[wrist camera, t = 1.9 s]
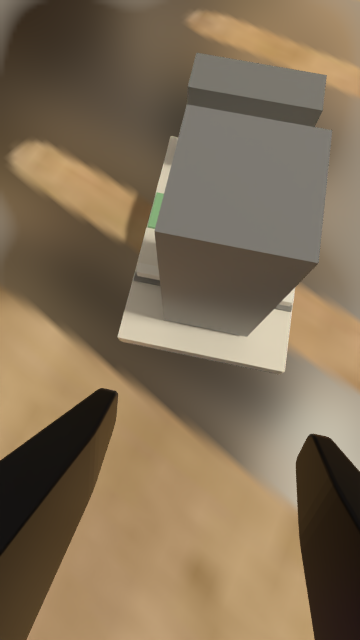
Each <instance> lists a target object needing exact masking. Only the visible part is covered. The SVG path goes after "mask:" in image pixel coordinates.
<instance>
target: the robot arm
mask: <svg viewBox="0 0 360 640" xmlns="http://www.w3.org/2000/svg"><path fill="white" fill-rule="evenodd" d="M117 403H118V393H117V392H116V391H113V390H109V389H104V388H100V389H98V390H97V391H95V392H94V393H93V394H91V395H90V396H88V397H87V398H86V399H84V400H83V401H82V402H80V403H79V404H77V405H76V406H75V407H73V408H72V409H71V410H69V411H68V412H66V413H65V414H64V415H62V416H61V417H60V418H58V419H57V420H55V421H54V422H53V423H51V424H50V425H48V426H47V427H46V428H44V429H43V430H42V431H40V432H39V433H37V434H36V435H35V436H33V437H32V438H31V439H29V440H28V441H26V442H25V443H24V444H22V445H21V446H20V447H18V448H17V449H15V450H14V451H13V452H11V453H10V454H9V455H7V456H6V457H4V458H3V459H2V460H0V640H26V639H27V637H28V635H29V633H30V630H31V628H32V626H33V624H34V621H35V619H36V617H37V615H38V613H39V610H40V608H41V606H42V604H43V602H44V599H45V597H46V595H47V593H48V590H49V588H50V586H51V584H52V582H53V579H54V577H55V575H56V573H57V571H58V568H59V566H60V564H61V562H62V559H63V557H64V555H65V553H66V551H67V548H68V546H69V544H70V542H71V539H72V537H73V535H74V533H75V531H76V528H77V526H78V524H79V522H80V520H81V517H82V515H83V513H84V511H85V508H86V506H87V504H88V502H89V499H90V497H91V495H92V492H93V490H94V487H95V484H96V481H97V478H98V475H99V472H100V469H101V466H102V463H103V460H104V457H105V453H106V450H107V447H108V444H109V441H110V438H111V435H112V432H113V429H114V425H115V421H116V414H117ZM296 482H297V503H298V524H299V538H300V546H301V553H302V560H303V566H304V573H305V579H306V586H307V592H308V599H309V605H310V612H311V618H312V625H313V631H314V638H315V640H360V471H359V470H358V469H357V468H356V467H355V466H354V465H353V463H352V462H351V461H350V460H349V459H348V458H347V457H346V455H345V454H344V453H343V452H342V451H341V450H340V449H339V447H338V446H337V445H336V444H335V443H334V442H333V441H332V439H330V438H329V437H326V436H321V435H317V434H310V435H309V436H308V437H307V439H306V441H305V443H304V445H303V447H302V449H301V451H300V453H299V455H298V457H297V461H296Z"/></svg>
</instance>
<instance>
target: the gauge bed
mask: <svg viewBox="0 0 360 640" xmlns="http://www.w3.org/2000/svg"><path fill="white" fill-rule="evenodd" d="M326 77H327V75H322V74H316V73H311V72H305V71H299V70H293V69H287V68H282V67H276V66H270V65H264V64H259V63H253V62H247V61H241V60H235V59H230V58H224V57H218V56H212V55H207V54H201V53H197V54H196V57H195V61H194V65H193V69H192V72H191V76H190V80H189V84H188V95H187V104H188V105H194V106H199V107H205V108H210V109H216V110H222V111H227V112H233V113H238V114H244V115H249V116H255V117H261V118H266V119H272V120H277V121H283V122H288V123H294V124H300V125H305V126H311V127H315V125H316V123H317V121H318V119H319V117H320V115H321V113H322V111H323V102H324V94H325V85H326ZM177 141H178V137H173V136H171V137H170V141H169V144H168V148H167V152H166V156H165V160H164V163H163V167H162V171H161V175H160V178H159V182H158V186H157V190H156V194H155V197H154V201H153V205H152V209H151V212H150V216H149V220H148V224H147V227H146V231H145V235H144V239H143V243H142V246H141V250H140V254H139V258H138V262H137V265H136V269H135V273H134V276H133V280H132V284H131V288H130V292H129V295H128V300H127V303H126V307H125V311H124V314H123V318H122V322H121V326H120V329H119V333H118V339H119V340H120V341H121V342H126V343H130V344H135V345H140V346H145V347H150V348H154V349H159V350H164V351H169V352H173V353H179V354H184V355H188V356H193V357H197V358H202V359H208V360H212V361H217V362H221V363H227V364H231V365H236V366H241V367H245V368H250V369H255V370H260V371H265V372H269V373H275V374H280V373H283V372H285V365H286V356H287V348H288V340H289V332H290V324H291V315H292V307H293V304H292V305H291V306H285V305H280V304H278V305H277V307H276V308H275V309H274V310H273V311H272V312H271V313H270V314H269V315H268V316H267V317H266V318H265V319H264V320H263V321H262V322H261V323H260V324H259V325H258V326H257V327H256V328H255V329H254V330H253V331H252V332H251V333H250V334H249V335H248V336H247V337H246V336H241V335H236V334H231V333H226V332H221V331H216V330H211V329H207V328H202V327H197V326H192V325H187V324H182V323H177V322H172V321H167V320H164V315H163V306H162V297H161V288H160V280H155V279H150V278H145V277H140V276H137V272H136V271H137V267H138V264H139V263H143V264H148V265H153V266H158V260H157V251H156V242H155V232H154V231H155V227H156V223H157V219H158V215H159V211H160V207H161V204H162V200H163V196H164V192H165V188H166V184H167V180H168V176H169V172H170V169H171V165H172V161H173V157H174V153H175V149H176V145H177ZM294 291H295V288H294V289H293V290H292V291H291V292H290V293H294Z"/></svg>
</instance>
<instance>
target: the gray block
mask: <svg viewBox="0 0 360 640" xmlns="http://www.w3.org/2000/svg"><path fill="white" fill-rule="evenodd" d="M331 137H332V130H327V129H322V128H316V127H311V126H305V125H300V124H294V123H288V122H283V121H277V120H272V119H266V118H261V117H255V116H249V115H244V114H238V113H233V112H227V111H222V110H216V109H210V108H205V107H199V106H194V105H188V104H187V106H186V110H185V114H184V118H183V122H182V126H181V130H180V134H179V137H178V141H177V145H176V149H175V153H174V157H173V161H172V165H171V169H170V172H169V176H168V180H167V184H166V188H165V192H164V196H163V200H162V204H161V207H160V211H159V215H158V219H157V223H156V227H155V231H154V232H155V242H156V251H157V260H158V266H153V265H148V264H143V263H139V264H138V267H137V271H136V272H137V276H140V277H145V278H150V279H155V280H160V288H161V297H162V306H163V315H164V320H167V321H172V322H177V323H182V324H187V325H192V326H197V327H202V328H207V329H211V330H216V331H221V332H226V333H231V334H236V335H241V336H246V337H247V336H248V335H249V334H250V333H251V332H252V331H253V330H254V329H255V328H256V327H257V326H258V325H259V324H260V323H261V322H262V321H263V320H264V319H265V318H266V317H267V316H268V315H269V314H270V313H271V312H272V311H273V310H274V309H275V308H276V307H277V305H278V304H280V305H285V306H291V305H292V304H293V301H294V293H290V292H291V291H292V290H293V289H294V288H295V287H296V286H297V285H298V284H299V283H300V282H301V281H302V280H303V278H305V277H306V276H307V274H308V273H309V272H310V271H311V270H312V269H313V268H314V267H315V266H316V265H317V264H318V263H319V253H320V243H321V234H322V224H323V214H324V205H325V195H326V185H327V176H328V166H329V156H330V146H331Z"/></svg>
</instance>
